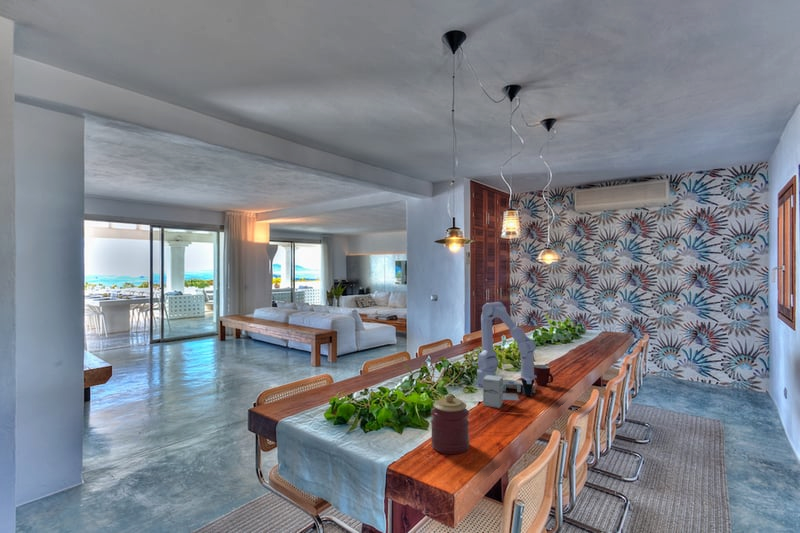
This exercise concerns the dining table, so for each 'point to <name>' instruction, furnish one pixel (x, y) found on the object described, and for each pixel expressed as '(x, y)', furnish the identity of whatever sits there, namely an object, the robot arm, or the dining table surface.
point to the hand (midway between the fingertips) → (527, 395)
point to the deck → (510, 396)
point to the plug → (524, 391)
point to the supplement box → (492, 391)
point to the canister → (450, 426)
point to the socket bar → (515, 385)
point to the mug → (542, 375)
